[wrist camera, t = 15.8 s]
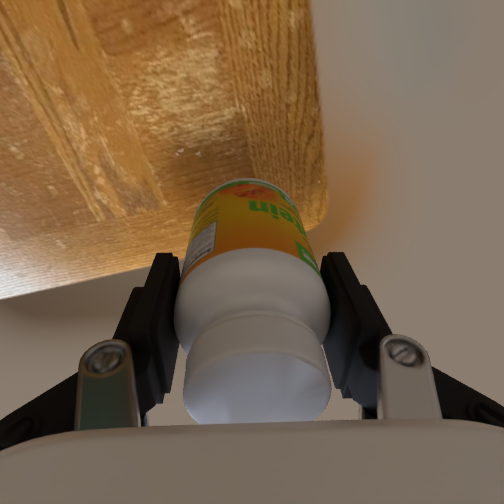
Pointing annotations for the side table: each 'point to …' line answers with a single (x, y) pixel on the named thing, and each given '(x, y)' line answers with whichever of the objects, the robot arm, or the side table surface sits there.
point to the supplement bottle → (252, 310)
